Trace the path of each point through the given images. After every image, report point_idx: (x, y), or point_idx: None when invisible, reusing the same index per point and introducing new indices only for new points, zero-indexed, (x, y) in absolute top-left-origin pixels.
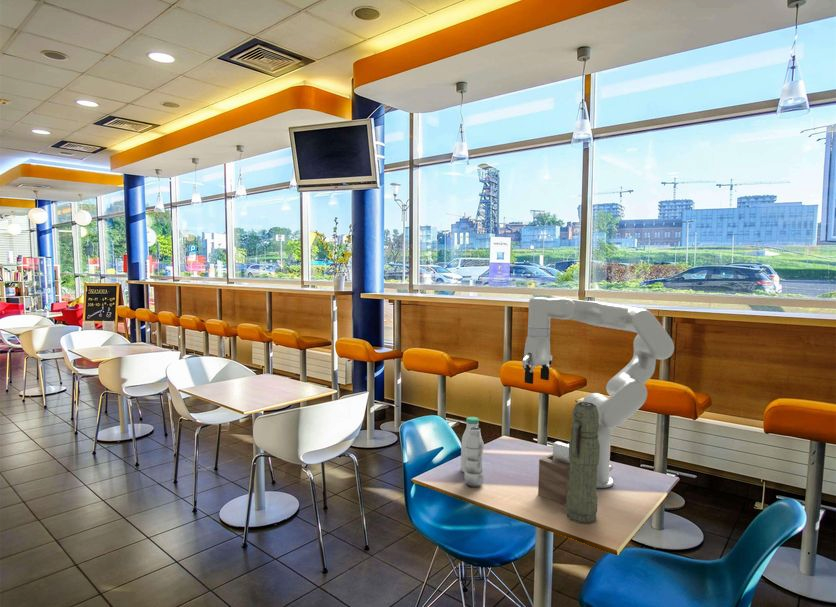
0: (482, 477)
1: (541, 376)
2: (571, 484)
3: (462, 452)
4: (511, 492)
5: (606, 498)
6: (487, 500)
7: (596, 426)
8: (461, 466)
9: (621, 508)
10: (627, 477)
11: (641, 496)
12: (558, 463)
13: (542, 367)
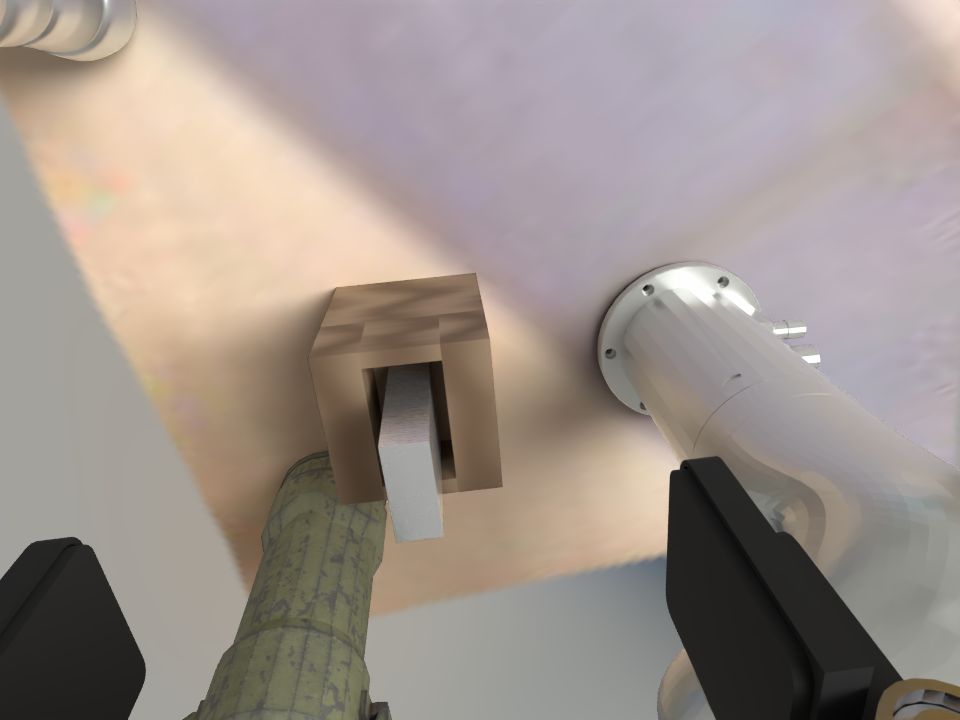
0: (97, 54)
1: (691, 522)
2: (257, 574)
3: None
4: (233, 200)
5: (551, 458)
6: (59, 195)
7: None
8: None
9: (518, 526)
10: None
11: None
12: (357, 450)
13: (877, 706)
